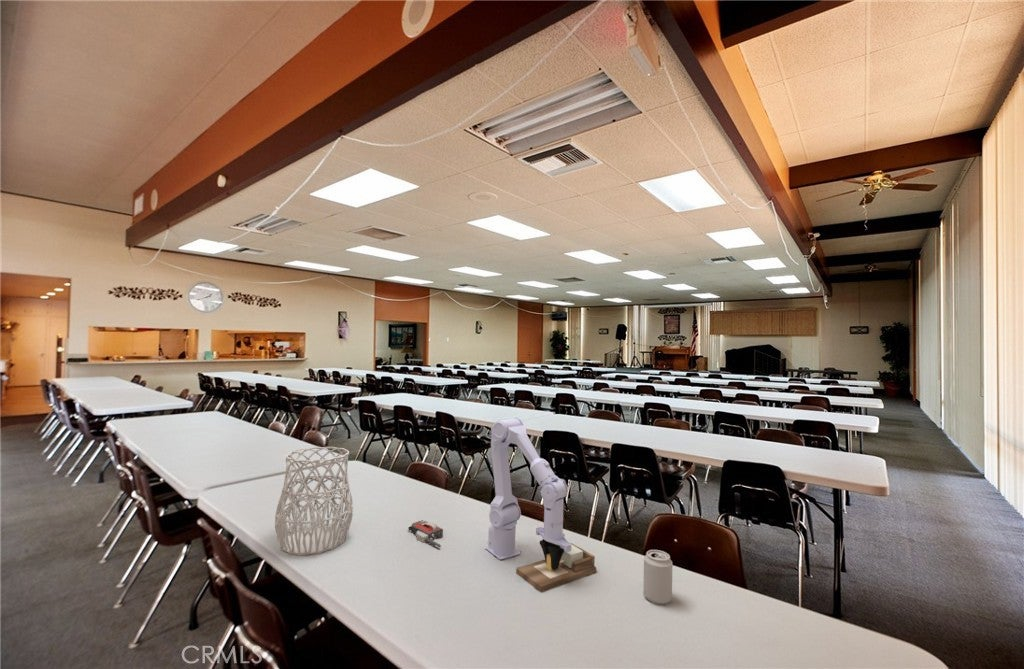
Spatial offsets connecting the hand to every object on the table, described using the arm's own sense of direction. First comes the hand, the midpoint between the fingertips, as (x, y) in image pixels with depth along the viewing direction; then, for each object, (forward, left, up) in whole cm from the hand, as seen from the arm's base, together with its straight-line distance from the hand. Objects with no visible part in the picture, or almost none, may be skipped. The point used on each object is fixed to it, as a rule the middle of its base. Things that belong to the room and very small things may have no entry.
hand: (552, 566), depth 131 cm
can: (+25, +17, -2) cm, 30 cm away
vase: (-59, -57, -2) cm, 82 cm away
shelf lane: (0, +1, -2) cm, 2 cm away
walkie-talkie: (-42, -21, -3) cm, 48 cm away
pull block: (0, +4, 0) cm, 4 cm away
